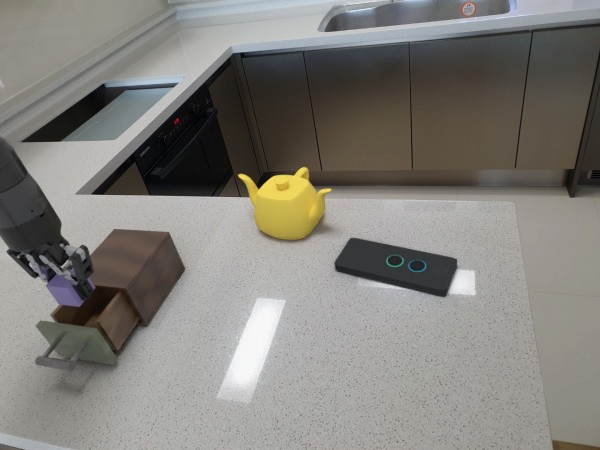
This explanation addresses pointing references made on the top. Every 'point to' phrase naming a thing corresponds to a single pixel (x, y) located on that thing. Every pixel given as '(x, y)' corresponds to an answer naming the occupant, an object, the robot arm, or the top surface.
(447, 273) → the smart home device
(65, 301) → the lavender cube
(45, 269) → the robot arm
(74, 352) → the drawer
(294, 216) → the teapot
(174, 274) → the cabinet
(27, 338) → the top surface
